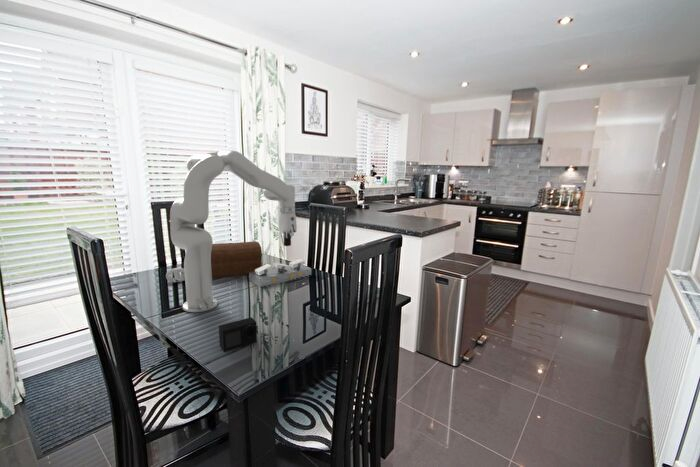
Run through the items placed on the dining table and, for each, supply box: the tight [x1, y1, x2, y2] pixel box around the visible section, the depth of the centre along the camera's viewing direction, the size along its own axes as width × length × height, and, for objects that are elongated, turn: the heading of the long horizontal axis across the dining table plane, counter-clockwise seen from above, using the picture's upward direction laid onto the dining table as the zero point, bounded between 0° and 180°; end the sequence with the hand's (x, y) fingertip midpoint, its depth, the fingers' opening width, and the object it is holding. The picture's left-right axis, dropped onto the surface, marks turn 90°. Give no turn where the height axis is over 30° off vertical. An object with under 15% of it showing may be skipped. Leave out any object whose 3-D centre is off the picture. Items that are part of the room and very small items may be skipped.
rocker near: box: [255, 263, 273, 275], centre depth 155 cm, size 5×7×2 cm, turn 131°
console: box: [248, 264, 312, 288], centre depth 162 cm, size 12×29×5 cm, turn 131°
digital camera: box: [218, 317, 258, 353], centre depth 98 cm, size 10×5×7 cm, turn 128°
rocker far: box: [288, 258, 306, 268], centre depth 167 cm, size 5×7×2 cm, turn 131°
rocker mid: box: [272, 262, 290, 270], centre depth 161 cm, size 5×7×2 cm, turn 131°
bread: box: [211, 241, 263, 279], centre depth 168 cm, size 18×30×16 cm, turn 114°
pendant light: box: [165, 220, 185, 283], centre depth 151 cm, size 9×9×30 cm
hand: (287, 245), depth 162 cm, fingers closed
